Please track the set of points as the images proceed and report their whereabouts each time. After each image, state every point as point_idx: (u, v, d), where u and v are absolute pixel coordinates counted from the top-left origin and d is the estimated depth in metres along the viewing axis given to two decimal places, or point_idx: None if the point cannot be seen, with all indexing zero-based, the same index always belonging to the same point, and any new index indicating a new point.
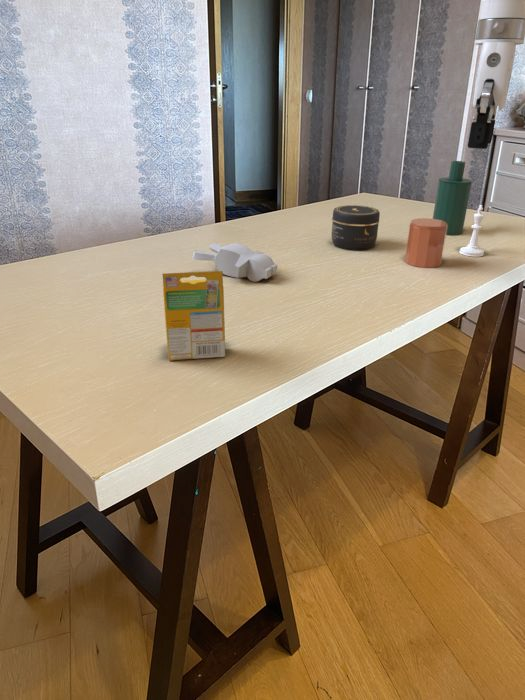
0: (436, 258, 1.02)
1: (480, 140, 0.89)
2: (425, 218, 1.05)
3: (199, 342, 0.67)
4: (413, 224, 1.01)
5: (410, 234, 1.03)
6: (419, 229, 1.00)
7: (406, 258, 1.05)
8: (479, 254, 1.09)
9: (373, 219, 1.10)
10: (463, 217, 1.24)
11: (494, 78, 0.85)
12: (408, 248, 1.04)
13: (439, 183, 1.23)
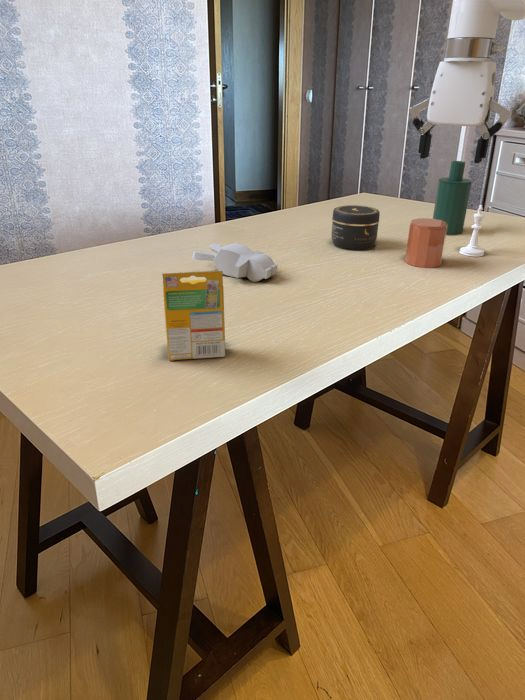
0: (436, 258, 1.02)
1: (485, 154, 0.93)
2: (425, 218, 1.05)
3: (199, 342, 0.67)
4: (413, 224, 1.01)
5: (410, 234, 1.03)
6: (419, 229, 1.00)
7: (406, 258, 1.05)
8: (479, 254, 1.09)
9: (373, 219, 1.10)
10: (463, 217, 1.24)
11: (492, 96, 0.90)
12: (408, 248, 1.04)
13: (439, 183, 1.23)
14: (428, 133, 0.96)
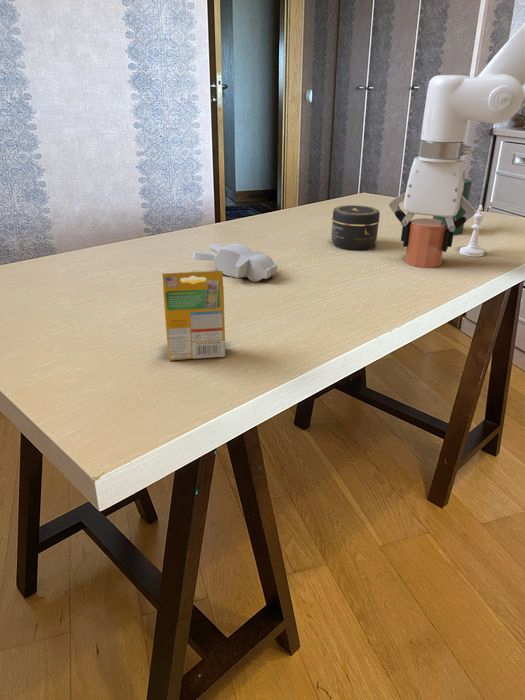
0: (436, 258, 1.02)
1: (451, 243, 1.02)
2: (425, 218, 1.05)
3: (199, 342, 0.67)
4: (413, 224, 1.01)
5: (410, 234, 1.03)
6: (419, 229, 1.00)
7: (406, 258, 1.05)
8: (479, 254, 1.09)
9: (373, 219, 1.10)
10: None
11: (462, 192, 0.98)
12: (408, 248, 1.04)
13: None
14: (409, 224, 1.03)
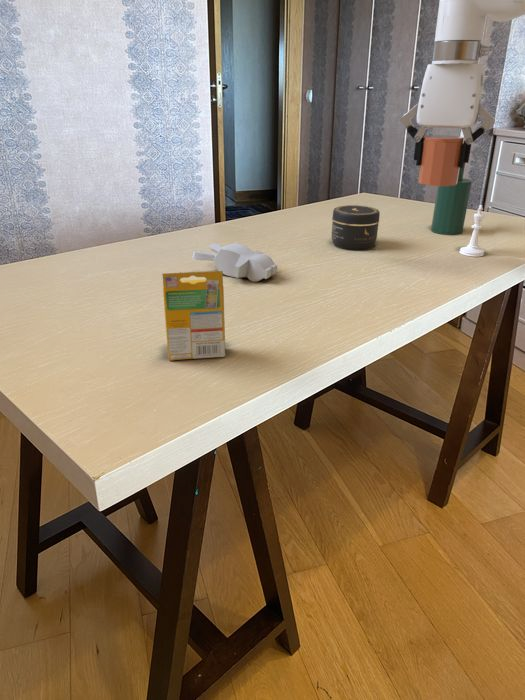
0: (452, 175, 0.95)
1: (468, 159, 0.95)
2: (439, 135, 0.98)
3: (199, 342, 0.67)
4: (427, 138, 0.94)
5: (424, 150, 0.96)
6: (434, 143, 0.93)
7: (419, 178, 0.98)
8: (479, 254, 1.09)
9: (373, 219, 1.10)
10: (463, 217, 1.24)
11: (480, 100, 0.91)
12: (422, 167, 0.97)
13: None
14: None
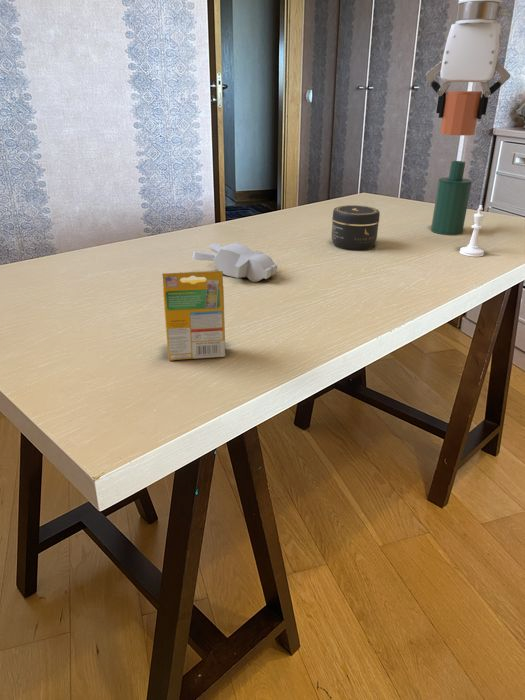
0: (471, 125, 1.06)
1: None
2: None
3: (199, 342, 0.67)
4: (449, 92, 1.05)
5: (446, 103, 1.07)
6: (456, 95, 1.04)
7: (441, 129, 1.09)
8: (479, 254, 1.09)
9: (373, 219, 1.10)
10: (463, 217, 1.24)
11: (497, 57, 1.02)
12: (444, 118, 1.08)
13: (439, 183, 1.23)
14: (445, 94, 1.08)
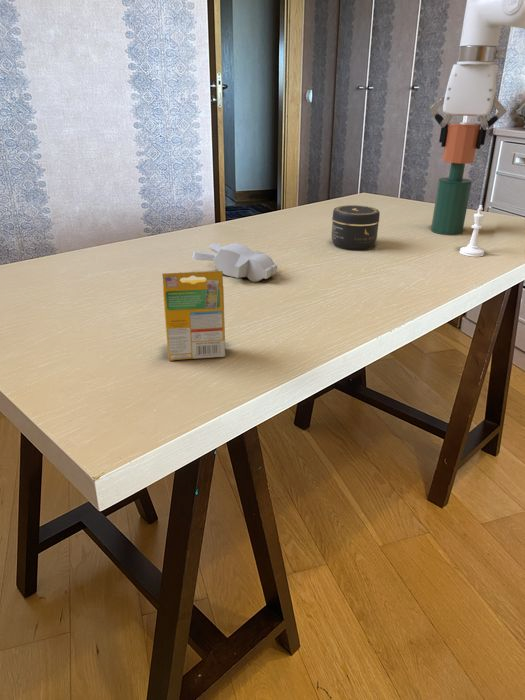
0: (470, 154, 1.17)
1: None
2: (460, 122, 1.20)
3: (199, 342, 0.67)
4: (451, 124, 1.16)
5: (448, 134, 1.18)
6: (456, 128, 1.15)
7: (443, 157, 1.20)
8: (479, 254, 1.09)
9: (373, 219, 1.10)
10: (463, 217, 1.24)
11: None
12: (446, 147, 1.19)
13: (439, 183, 1.23)
14: (447, 126, 1.19)
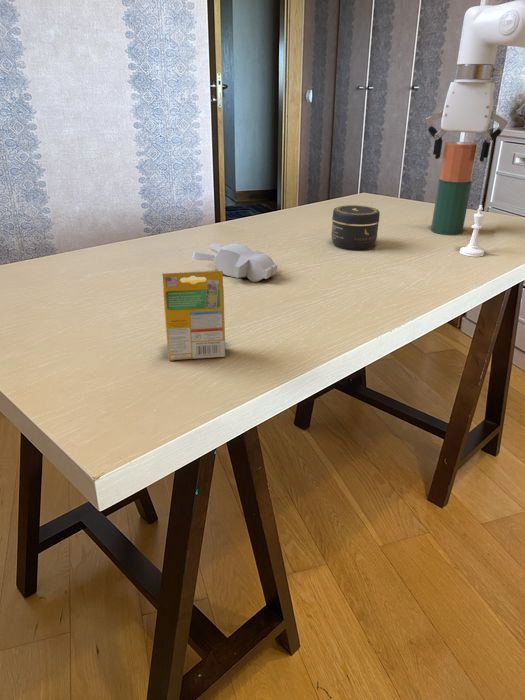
0: (467, 174, 1.19)
1: (487, 154, 1.18)
2: None
3: (199, 342, 0.67)
4: (448, 144, 1.18)
5: (445, 153, 1.20)
6: (453, 147, 1.17)
7: (441, 176, 1.22)
8: (479, 254, 1.09)
9: (373, 219, 1.10)
10: (463, 217, 1.24)
11: (492, 109, 1.14)
12: (443, 166, 1.21)
13: (439, 183, 1.23)
14: (441, 138, 1.20)
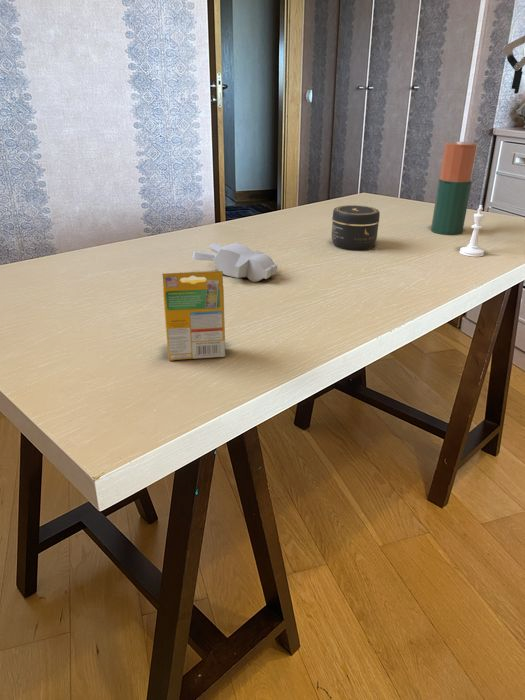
0: (467, 174, 1.19)
1: None
2: None
3: (199, 342, 0.67)
4: (448, 144, 1.18)
5: (445, 153, 1.20)
6: (453, 147, 1.17)
7: (441, 176, 1.22)
8: (479, 254, 1.09)
9: (373, 219, 1.10)
10: (463, 217, 1.24)
11: None
12: (443, 166, 1.21)
13: (439, 183, 1.23)
14: (521, 69, 1.04)
